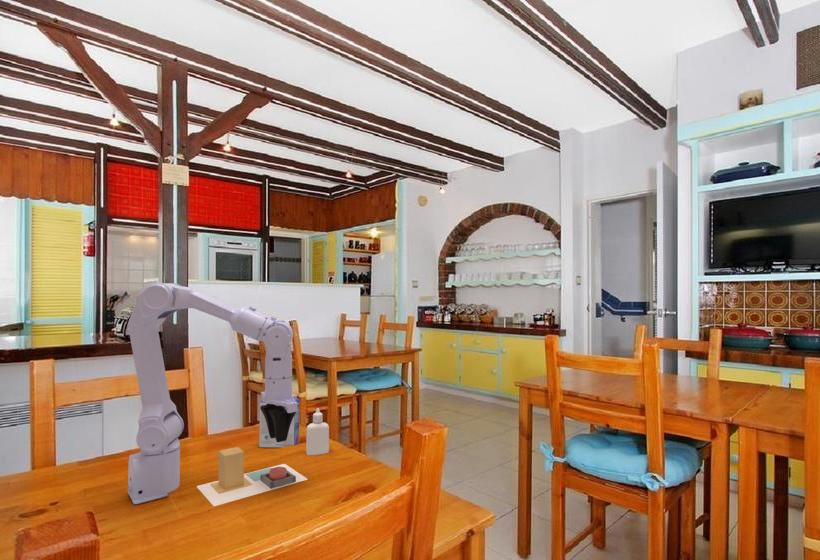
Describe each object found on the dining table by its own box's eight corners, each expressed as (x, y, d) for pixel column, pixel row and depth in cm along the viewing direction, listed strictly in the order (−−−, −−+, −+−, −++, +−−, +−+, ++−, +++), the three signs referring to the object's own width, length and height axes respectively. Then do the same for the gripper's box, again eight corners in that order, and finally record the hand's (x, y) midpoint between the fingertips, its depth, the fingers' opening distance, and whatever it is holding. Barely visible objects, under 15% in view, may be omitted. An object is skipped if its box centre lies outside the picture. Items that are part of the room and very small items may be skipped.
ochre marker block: (224, 489, 97) (225, 456, 97) (218, 483, 100) (218, 450, 100) (243, 484, 100) (244, 451, 100) (237, 478, 103) (237, 446, 103)
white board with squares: (213, 510, 90) (213, 500, 90) (196, 489, 99) (196, 480, 99) (308, 482, 103) (308, 473, 103) (284, 467, 112) (284, 458, 112)
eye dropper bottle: (310, 451, 122) (310, 406, 123) (330, 453, 122) (330, 406, 122) (304, 457, 118) (304, 410, 118) (325, 459, 117) (325, 411, 118)
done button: (273, 483, 99) (273, 474, 99) (266, 478, 102) (266, 469, 102) (289, 479, 102) (289, 470, 102) (282, 474, 104) (282, 465, 104)
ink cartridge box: (300, 441, 131) (300, 389, 131) (295, 448, 125) (295, 394, 126) (265, 441, 131) (265, 389, 131) (258, 448, 125) (258, 394, 126)
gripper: (310, 379, 99) (310, 443, 99) (281, 370, 110) (281, 428, 110) (279, 383, 95) (279, 451, 94) (252, 373, 106) (251, 434, 106)
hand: (278, 439), depth 102 cm, fingers open, 3 cm apart
